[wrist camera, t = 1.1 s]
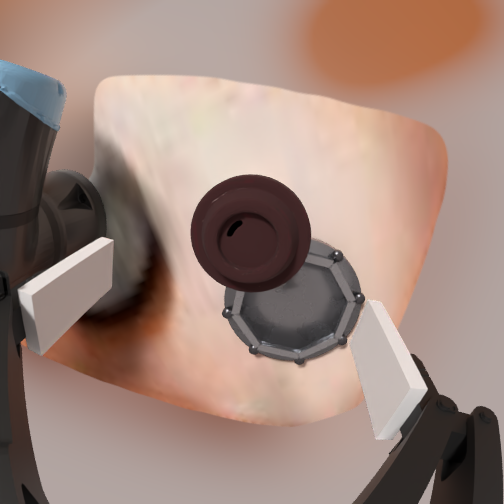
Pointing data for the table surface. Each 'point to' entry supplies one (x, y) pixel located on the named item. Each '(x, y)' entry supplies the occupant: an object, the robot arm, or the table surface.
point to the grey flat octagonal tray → (300, 309)
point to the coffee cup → (251, 233)
